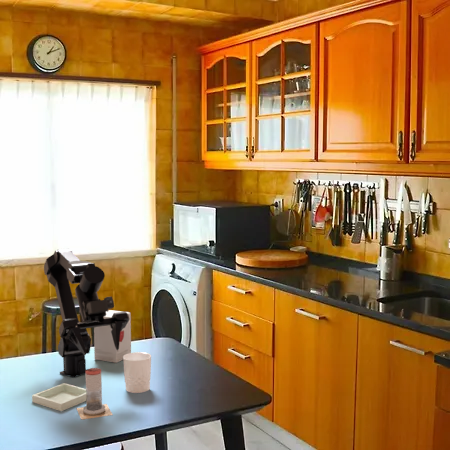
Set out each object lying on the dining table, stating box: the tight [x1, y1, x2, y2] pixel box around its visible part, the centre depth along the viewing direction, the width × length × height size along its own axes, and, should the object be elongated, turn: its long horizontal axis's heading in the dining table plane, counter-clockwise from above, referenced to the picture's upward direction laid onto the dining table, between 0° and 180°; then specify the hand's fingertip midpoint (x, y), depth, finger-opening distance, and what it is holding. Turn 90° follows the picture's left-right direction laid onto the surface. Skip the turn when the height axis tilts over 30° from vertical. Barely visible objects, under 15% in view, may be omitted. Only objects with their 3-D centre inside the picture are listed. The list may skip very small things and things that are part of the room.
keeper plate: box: [76, 403, 113, 420], centre depth 171 cm, size 8×8×1 cm
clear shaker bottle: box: [83, 367, 105, 416], centre depth 170 cm, size 6×6×11 cm
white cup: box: [122, 351, 152, 394], centre depth 187 cm, size 8×8×10 cm
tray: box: [31, 382, 86, 412], centre depth 179 cm, size 11×11×2 cm
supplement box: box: [93, 309, 132, 364], centre depth 217 cm, size 9×9×15 cm
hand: (101, 351), depth 178 cm, fingers open, 9 cm apart
